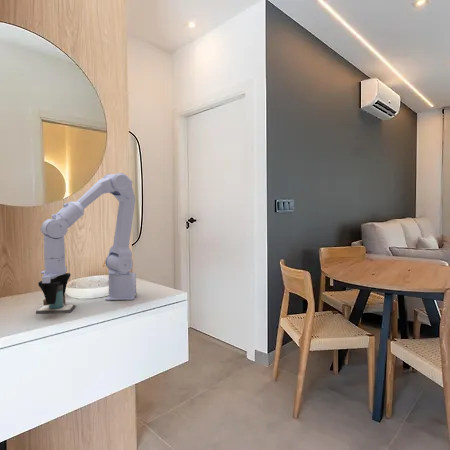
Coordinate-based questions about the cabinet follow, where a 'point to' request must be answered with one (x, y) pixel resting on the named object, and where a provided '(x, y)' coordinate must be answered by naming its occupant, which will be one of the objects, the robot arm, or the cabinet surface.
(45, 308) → the drawing pad
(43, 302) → the button collar
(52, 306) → the cylinder
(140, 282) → the cabinet surface
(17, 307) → the cabinet surface
